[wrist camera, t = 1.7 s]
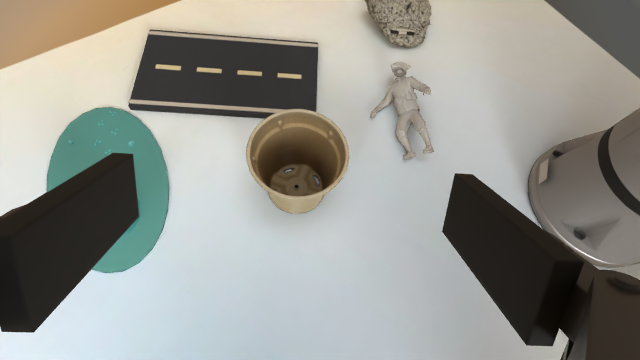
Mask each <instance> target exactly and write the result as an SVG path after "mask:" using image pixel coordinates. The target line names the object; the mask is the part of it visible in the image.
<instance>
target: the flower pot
mask: <svg viewBox="0 0 640 360" xmlns="http://www.w3.org/2000/svg"><path fill="white" fill-rule="evenodd" d="M246 158H247V163H248V167H249V170H250V172H251V174H252V176H253V177H254V179H255V180H256V181H257V183H258V184H259V185H260V186H261V187H262V188H264V189H265V190H266V191H268V193H269V196H270V198H271V200H272V201H273V203H274V204H275V205H276V206H277V207H278V208H279V209H281V210H283V211H286V212H288V213H292V214H301V213H306V212H308V211H310V210H312V209H314V208H315V207H316V206H317V205H318V204H319V203H320V201H321V200H322V198H323V196H324V195H325V193H327V192H329V191H330V190H331V189H333V188H334V187H335V186H336V185H337V184H338V183H339V182H340V180H341V179H342V178H343V176H344V174H345V172H346V170H347V167H348V162H349V148H348V144H347V141H346V139H345V136H344V135H343V133H342V132H341V130H340V129H339V128H338V127H337V126H336V124H334V123H333V122H332V121H331V120H330V119H328V118H327V117H325V116H323V115H321V114H319V113H316V112H313V111H310V110H304V109H289V110H283V111H280V112H277V113H275V114H273V115H270V116H269V117H267V118H266V119H264V120H263V121H262V122H260V124H258V126H257V127H256V128H255V129H254V131H253V132H252V134H251V136H250V138H249V141H248V144H247V150H246ZM290 168H292V169H293V170H292V171H290V172H286V173H285V172H284V171H285V170H287V169H290ZM313 176H316V177H317V178H318V180H319V185H317V183H316V181H315V179H314V178H313ZM295 185H298V188H295ZM274 190H277V191H278V192H276V191H274Z"/></svg>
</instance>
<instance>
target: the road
mask: <svg viewBox="0 0 640 360" xmlns="http://www.w3.org/2000/svg"><path fill="white" fill-rule="evenodd" d="M317 62H318V43H314V42H302V41H289V40H276V39H263V38H251V37H238V36H225V35H213V34H200V33H187V32H174V31H162V30H149V32H148V37H147V41H146V45H145V48H144V52H143V55H142V59H141V62H140V66H139V70H138V73H137V77H136V80H135V84H134V87H133V91H132V95H131V98H130V100H129V105H128V106H129V108H130V109H131V110H145V111H160V112H176V113H192V114H207V115H223V116H239V117H254V118H267V117H269V116H270V115H273V114H275V113H277V112H280V111H283V110H289V109H304V110H310V111H313V112H316V96H317Z"/></svg>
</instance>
